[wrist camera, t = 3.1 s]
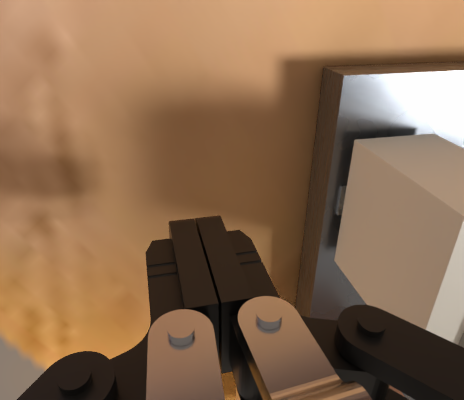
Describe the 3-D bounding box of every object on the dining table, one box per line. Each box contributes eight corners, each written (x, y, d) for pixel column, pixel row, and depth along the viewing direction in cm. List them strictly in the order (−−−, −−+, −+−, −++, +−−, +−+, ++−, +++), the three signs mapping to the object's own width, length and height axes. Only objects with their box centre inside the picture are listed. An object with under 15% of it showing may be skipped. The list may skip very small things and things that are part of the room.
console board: (598, 56, 16) (642, 64, 15) (457, 378, 26) (475, 401, 24) (323, 66, 14) (345, 76, 12) (282, 418, 23) (292, 445, 22)
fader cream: (433, 133, 14) (580, 207, 9) (402, 250, 16) (506, 354, 12) (354, 139, 13) (471, 221, 9) (334, 260, 15) (417, 372, 11)
